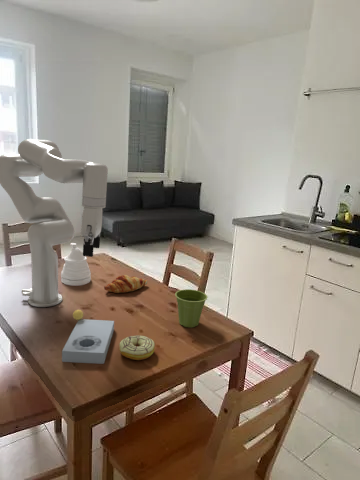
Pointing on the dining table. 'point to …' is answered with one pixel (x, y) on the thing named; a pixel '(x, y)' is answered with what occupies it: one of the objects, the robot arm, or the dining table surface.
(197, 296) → the plant pot
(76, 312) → the ball
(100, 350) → the deck
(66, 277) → the honey pot
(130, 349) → the decorated donut
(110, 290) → the croissant
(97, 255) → the dining table surface
